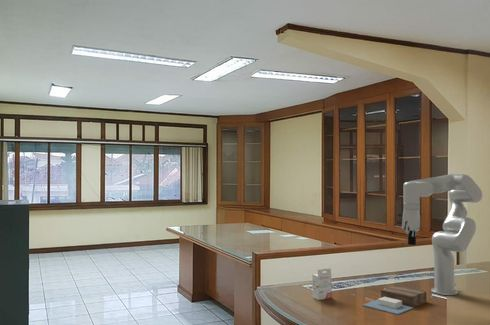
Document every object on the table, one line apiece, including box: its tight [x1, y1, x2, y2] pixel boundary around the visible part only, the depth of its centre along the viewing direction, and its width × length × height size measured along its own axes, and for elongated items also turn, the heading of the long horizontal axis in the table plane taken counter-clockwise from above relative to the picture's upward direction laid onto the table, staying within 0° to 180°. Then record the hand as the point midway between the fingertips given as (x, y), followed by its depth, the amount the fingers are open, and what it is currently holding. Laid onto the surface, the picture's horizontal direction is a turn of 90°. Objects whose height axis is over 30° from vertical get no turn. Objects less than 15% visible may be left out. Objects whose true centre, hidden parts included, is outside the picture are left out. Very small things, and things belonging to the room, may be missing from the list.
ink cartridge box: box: [311, 267, 333, 301], centre depth 219 cm, size 9×5×15 cm, turn 117°
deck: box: [380, 284, 427, 308], centre depth 213 cm, size 14×16×5 cm
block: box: [377, 297, 402, 309], centre depth 205 cm, size 6×9×2 cm, turn 42°
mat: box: [362, 299, 415, 316], centre depth 203 cm, size 14×18×1 cm
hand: (412, 244), depth 216 cm, fingers closed
